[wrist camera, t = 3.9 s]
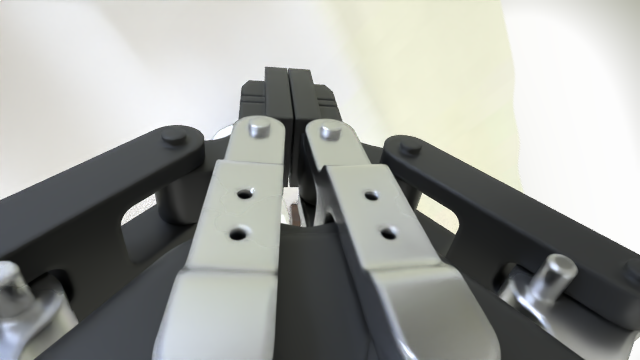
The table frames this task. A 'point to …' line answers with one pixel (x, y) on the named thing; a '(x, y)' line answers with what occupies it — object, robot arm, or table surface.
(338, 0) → the table surface
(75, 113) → the table surface
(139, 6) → the table surface
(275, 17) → the table surface
